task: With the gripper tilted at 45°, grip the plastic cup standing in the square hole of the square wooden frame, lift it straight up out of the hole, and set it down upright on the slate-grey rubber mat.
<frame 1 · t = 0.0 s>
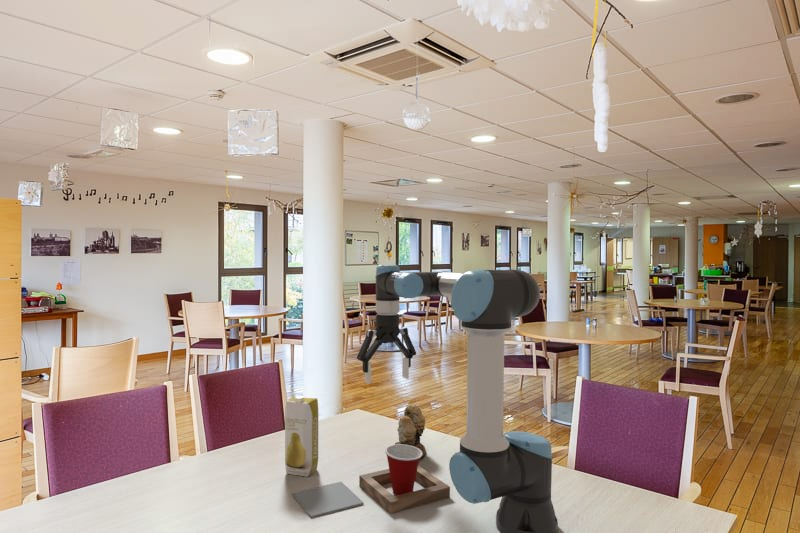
hand: (387, 380, 167), 28 cm above the table, tool pointing down, fingers open, 13 cm apart
square wooden frame: (403, 491, 151), on the table
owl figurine: (408, 453, 180), on the table
plastic cup: (403, 492, 151), resting in square wooden frame
juice carton: (301, 472, 164), on the table
rubber mat: (327, 499, 146), on the table
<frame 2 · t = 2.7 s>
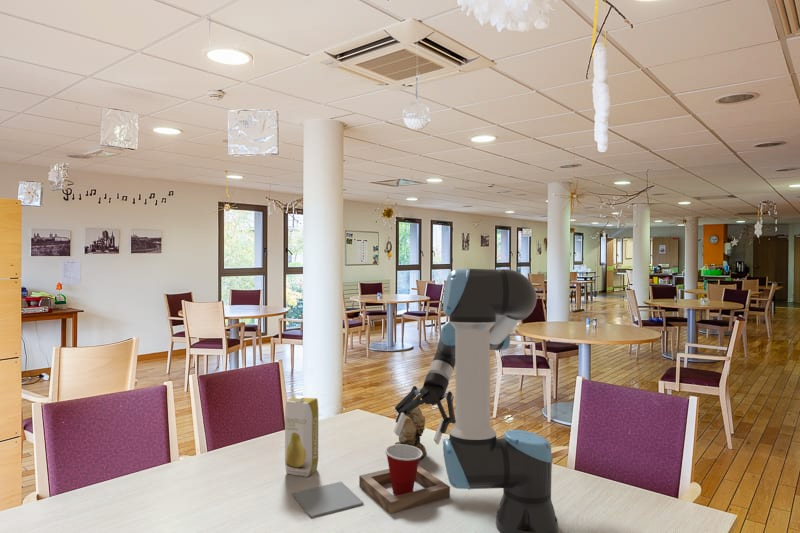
hand: (415, 437, 158), 13 cm above the table, tool tilted 45°, fingers open, 13 cm apart
nothing on the table moved.
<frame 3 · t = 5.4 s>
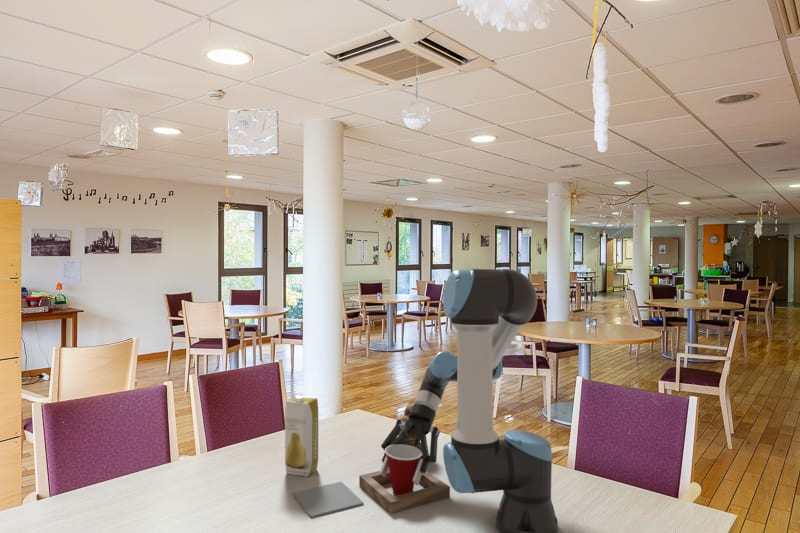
hand: (398, 478, 149), 5 cm above the table, tool tilted 45°, fingers closed on plastic cup, 10 cm apart
plastic cup: (403, 491, 151), resting in square wooden frame, touching gripper
everything else where it was.
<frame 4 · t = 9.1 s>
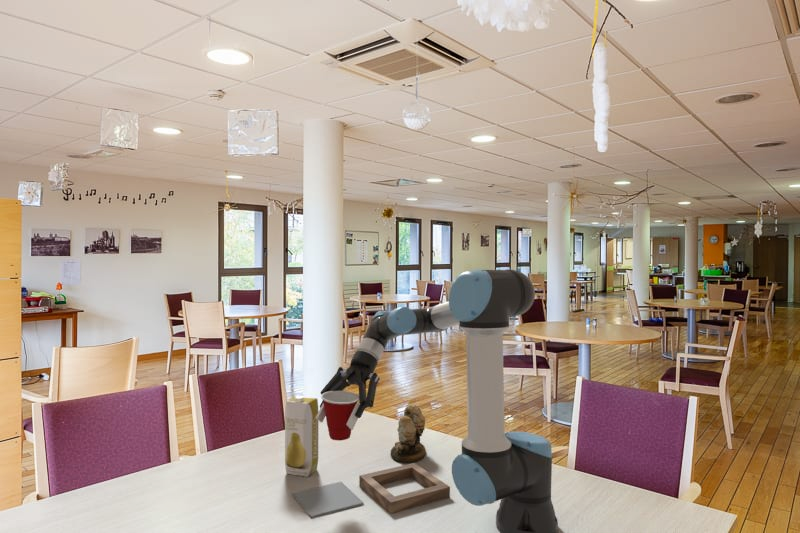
hand: (333, 423, 146), 21 cm above the table, tool tilted 45°, fingers closed on plastic cup, 10 cm apart
plastic cup: (340, 437, 148), point 16 cm above the table, touching gripper
everything else where it was.
when the fingers open (7 cm above the table, at t = 13.1 s): plastic cup moves 4 cm, resting on rubber mat.
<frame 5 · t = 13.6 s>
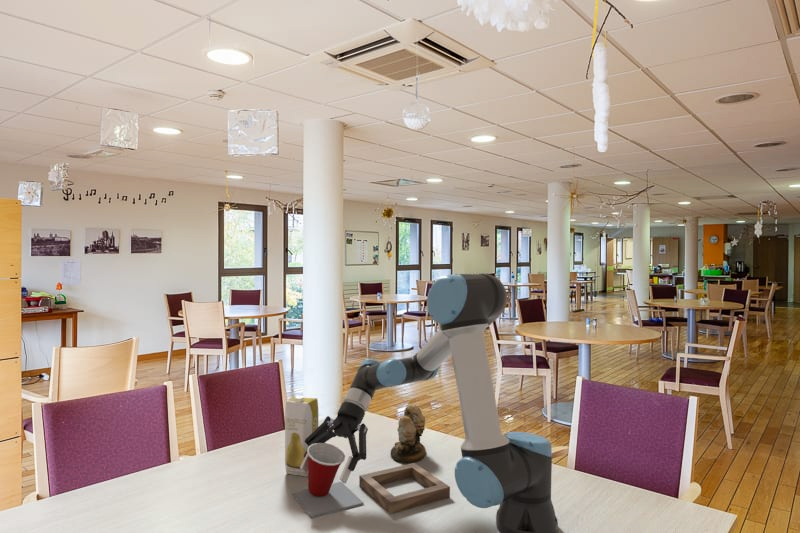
hand: (322, 475, 144), 7 cm above the table, tool tilted 45°, fingers open, 13 cm apart
plastic cup: (319, 491, 149), point 1 cm above the table, touching gripper, rubber mat
everything else where it was.
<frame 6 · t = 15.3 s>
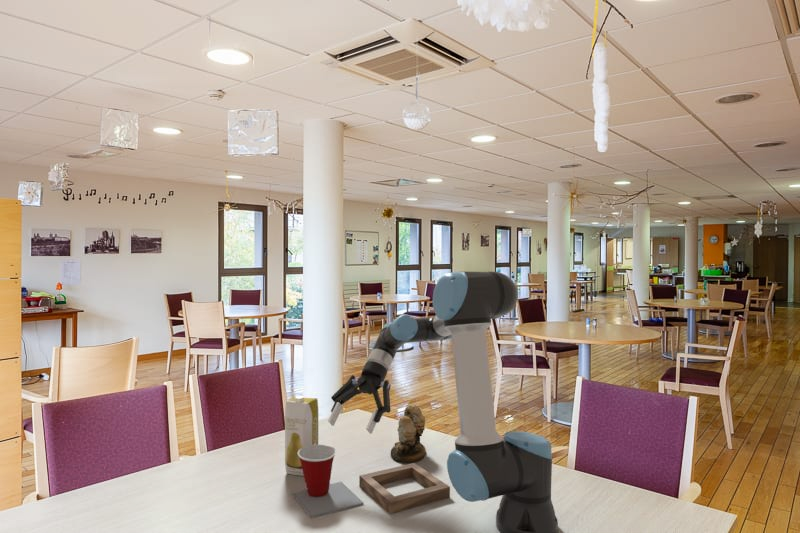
hand: (349, 427, 154), 17 cm above the table, tool tilted 45°, fingers open, 13 cm apart
plastic cup: (319, 493, 149), resting on rubber mat
everything else where it was.
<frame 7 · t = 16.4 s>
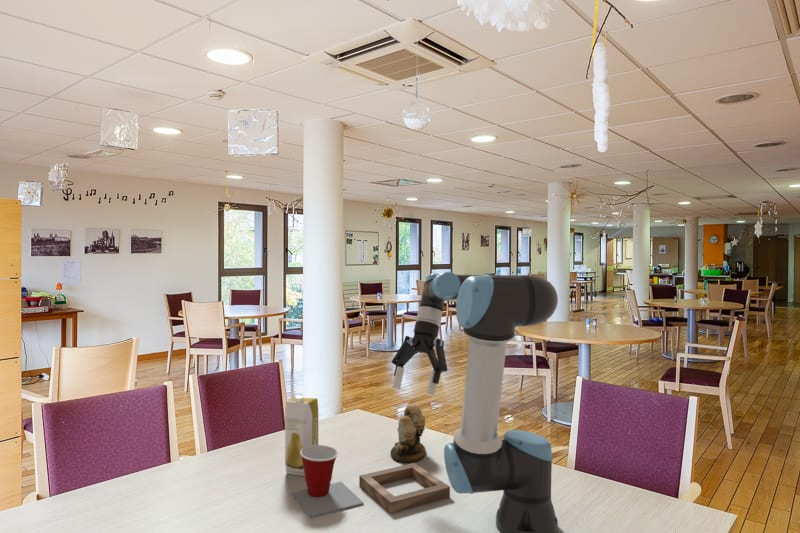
hand: (412, 391, 158), 27 cm above the table, tool tilted 20°, fingers open, 13 cm apart
nothing on the table moved.
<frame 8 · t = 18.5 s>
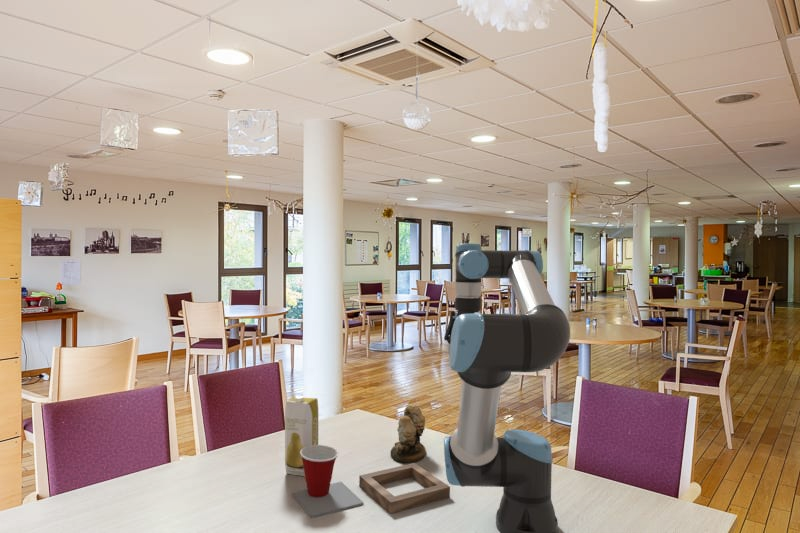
hand: (467, 369, 153), 35 cm above the table, tool pointing down, fingers open, 13 cm apart
nothing on the table moved.
at the end: plastic cup inside the target area on the rubber mat (3.8 cm from its centre), point 0.3 cm above the rubber mat's base; plastic cup tilted 0°; the gripper is holding nothing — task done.
